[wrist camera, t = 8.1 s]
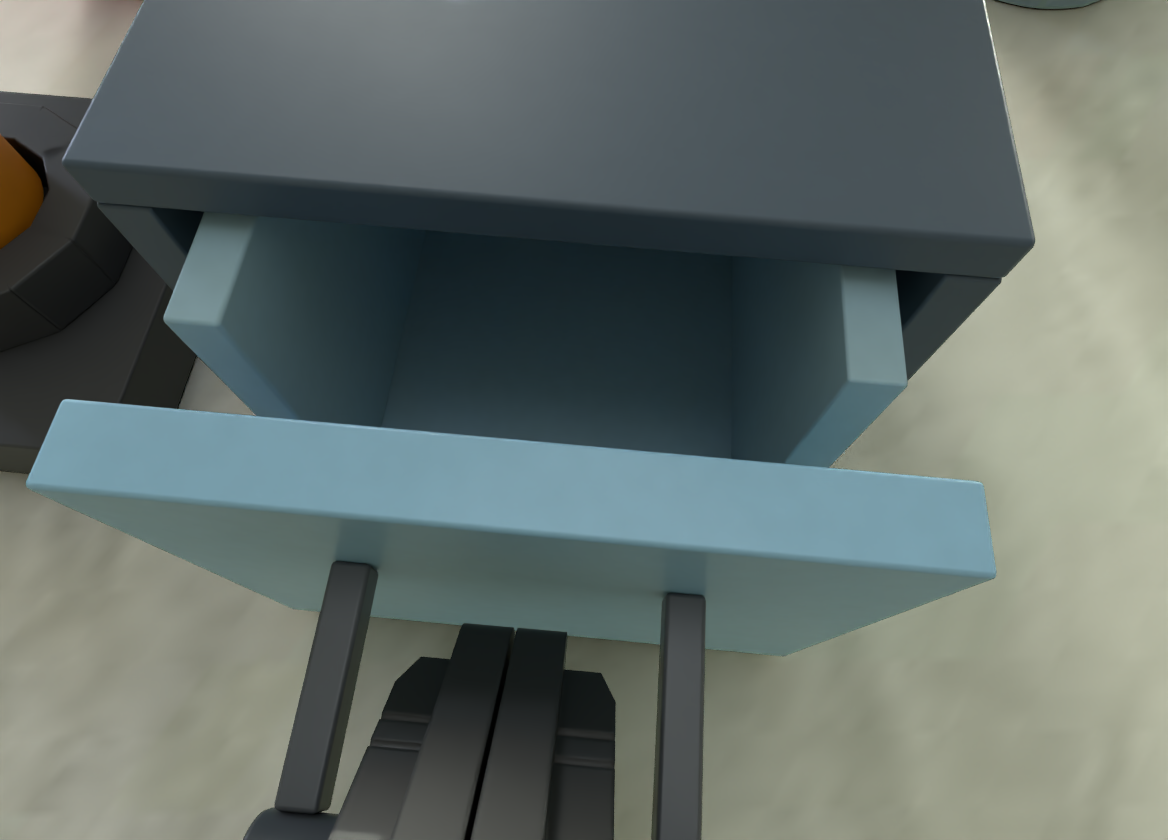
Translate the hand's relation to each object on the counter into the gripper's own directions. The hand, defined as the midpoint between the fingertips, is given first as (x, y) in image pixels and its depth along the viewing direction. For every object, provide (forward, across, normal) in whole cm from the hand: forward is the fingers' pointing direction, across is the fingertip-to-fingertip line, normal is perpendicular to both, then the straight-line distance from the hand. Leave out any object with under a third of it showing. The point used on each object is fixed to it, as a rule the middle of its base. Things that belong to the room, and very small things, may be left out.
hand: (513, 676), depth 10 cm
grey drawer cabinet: (+14, 0, -4) cm, 14 cm away
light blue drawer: (+8, 0, 0) cm, 8 cm away
